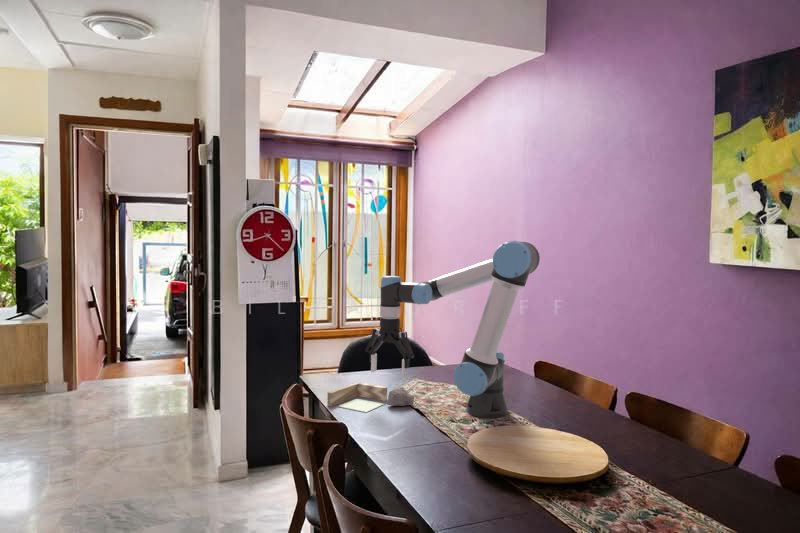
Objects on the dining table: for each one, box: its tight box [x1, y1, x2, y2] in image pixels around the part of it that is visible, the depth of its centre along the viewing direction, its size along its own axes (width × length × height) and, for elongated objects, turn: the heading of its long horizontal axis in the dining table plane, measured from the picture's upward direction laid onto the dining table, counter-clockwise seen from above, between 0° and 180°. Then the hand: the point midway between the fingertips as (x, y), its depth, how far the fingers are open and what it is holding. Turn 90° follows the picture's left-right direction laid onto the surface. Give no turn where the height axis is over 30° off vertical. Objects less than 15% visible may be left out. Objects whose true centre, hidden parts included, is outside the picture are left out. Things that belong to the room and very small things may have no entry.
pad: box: [337, 398, 385, 414], centre depth 199 cm, size 13×12×1 cm
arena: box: [327, 382, 388, 407], centre depth 203 cm, size 15×18×5 cm
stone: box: [386, 388, 415, 407], centre depth 199 cm, size 10×8×6 cm
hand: (388, 374), depth 197 cm, fingers open, 13 cm apart
